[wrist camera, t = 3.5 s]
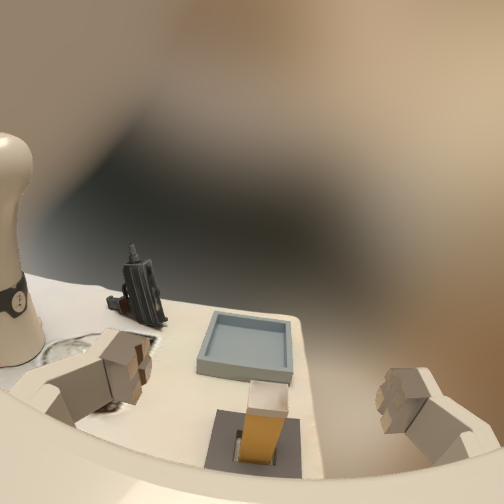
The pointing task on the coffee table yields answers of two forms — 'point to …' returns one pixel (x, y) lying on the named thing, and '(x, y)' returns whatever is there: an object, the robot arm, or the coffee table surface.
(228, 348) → the parts tray
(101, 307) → the coffee table surface
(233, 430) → the block
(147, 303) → the gun
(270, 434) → the block
